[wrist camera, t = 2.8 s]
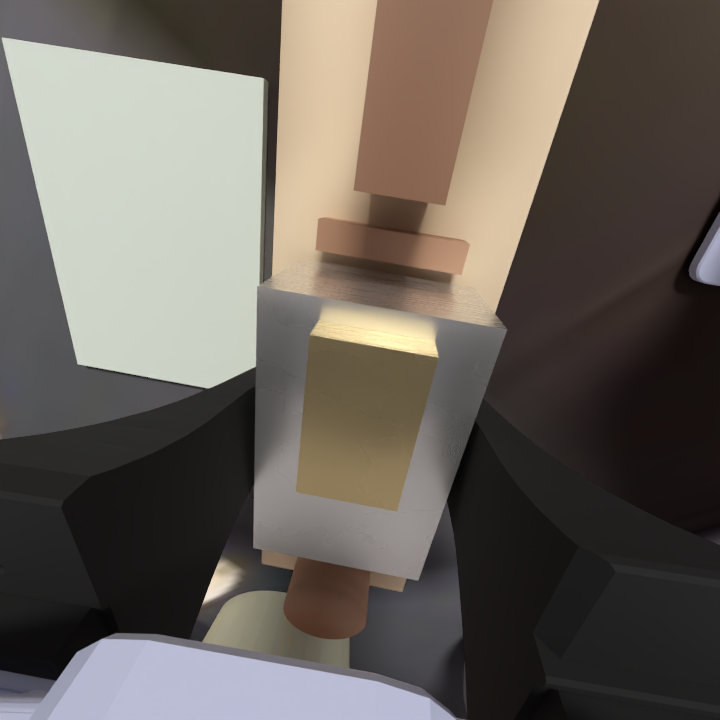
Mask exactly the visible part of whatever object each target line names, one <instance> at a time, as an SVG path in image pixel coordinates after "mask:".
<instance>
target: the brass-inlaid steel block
mask: <svg viewBox="0 0 720 720" xmlns="http://www.w3.org/2000/svg"><path fill="white" fill-rule="evenodd" d="M506 331H507V328H506V327H505V326H504V325H503V323H502V322H501V321H500V320H499V318H498V317H497V316H496V315H495V314H494V312H493V311H492V310H491V309H490V307H489V306H488V305H487V304H486V302H485V301H484V300H483V299H482V297H481V296H480V295H479V294H478V292H477V291H476V290H475V289H474V287H469V286H464V285H458V284H452V283H446V282H440V281H434V280H428V279H422V278H416V277H410V276H404V275H399V274H393V273H387V272H381V271H375V270H369V269H363V268H357V267H351V266H345V265H339V264H334V263H328V262H322V261H316V260H310V259H304V258H301V259H300V260H298V261H297V262H295V263H293V264H292V265H290V266H289V267H287V268H285V269H284V270H282V271H281V272H279V273H277V274H276V275H274V276H273V277H271V278H269V279H268V280H266V281H265V282H263V283H261V284H260V285H258V286H257V327H256V394H255V461H254V529H253V548H256V549H261V550H266V551H271V552H276V553H281V554H286V555H291V556H296V557H301V558H306V559H311V560H316V561H321V562H327V563H332V564H337V565H342V566H347V567H352V568H357V569H362V570H367V571H372V572H377V573H382V574H387V575H392V576H397V577H402V578H407V579H412V580H417V581H418V580H419V577H420V574H421V571H422V569H423V566H424V563H425V560H426V557H427V554H428V552H429V549H430V546H431V543H432V540H433V537H434V535H435V532H436V529H437V526H438V523H439V520H440V518H441V515H442V512H443V509H444V506H445V504H446V501H447V498H448V495H449V492H450V489H451V487H452V484H453V481H454V478H455V475H456V472H457V470H458V467H459V464H460V461H461V458H462V456H463V453H464V450H465V447H466V444H467V441H468V439H469V436H470V433H471V430H472V427H473V424H474V422H475V419H476V416H477V413H478V410H479V407H480V405H481V402H482V399H483V396H484V393H485V391H486V388H487V385H488V382H489V379H490V376H491V374H492V371H493V368H494V365H495V362H496V359H497V357H498V354H499V351H500V348H501V345H502V343H503V340H504V337H505V334H506Z"/></svg>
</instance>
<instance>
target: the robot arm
mask: <svg viewBox="0 0 720 720" xmlns="http://www.w3.org/2000/svg"><path fill="white" fill-rule="evenodd" d="M689 275H690V277H691V278H692V279H693V280H695V281H698V282H701V283H705V284H710V285H716V286H720V212H719V214H718V215H717V217H716V219H715V221H714V223H713V224H712V226H711V228H710V230H709V232H708V233H707V235H706V237H705V239H704V241H703V242H702V244H701V246H700V248H699V250H698V251H697V253H696V255H695V257H694V259H693V261H692V262H691V265H690V267H689ZM255 394H256V367H254V368H252V369H250V370H248V371H245V372H243V373H241V374H239V375H237V376H235V377H233V378H231V379H229V380H227V381H225V382H223V383H220V384H218V385H216V386H214V387H211V388H209V389H207V390H204V391H202V392H200V393H197V394H195V395H193V396H190V397H188V398H185V399H182V400H180V401H177V402H174V403H171V404H168V405H165V406H162V407H159V408H156V409H153V410H150V411H147V412H143V413H139V414H135V415H131V416H128V417H124V418H120V419H116V420H112V421H108V422H104V423H99V424H95V425H90V426H85V427H80V428H75V429H69V430H64V431H58V432H52V433H46V434H40V435H32V436H25V437H17V438H10V439H2V440H0V720H465V719H460V718H456V717H455V715H454V714H453V713H452V712H451V711H450V710H449V709H448V708H447V707H445V706H444V705H443V704H441V703H440V702H439V701H438V700H436V699H435V698H434V697H433V696H431V695H430V694H429V693H428V692H426V691H425V690H424V689H423V688H420V687H417V686H414V685H411V684H408V683H405V682H402V681H399V680H396V679H392V678H389V677H386V676H383V675H380V674H377V673H372V672H366V671H361V670H355V669H349V668H344V667H338V666H333V665H327V664H321V663H316V662H310V661H305V660H299V659H293V658H288V657H282V656H277V655H271V654H265V653H260V652H254V651H249V650H243V649H237V648H232V647H226V646H221V645H215V644H209V643H204V642H198V641H193V640H189V639H190V636H191V633H192V630H193V627H194V625H195V622H196V619H197V617H198V614H199V611H200V608H201V606H202V603H203V600H204V598H205V595H206V592H207V590H208V587H209V584H210V582H211V579H212V577H213V574H214V572H215V569H216V567H217V564H218V562H219V559H220V557H221V554H222V552H223V549H224V546H225V544H226V542H227V539H228V537H229V535H230V532H231V530H232V527H233V525H234V523H235V520H236V518H237V516H238V513H239V511H240V509H241V507H242V505H243V503H244V501H245V499H246V498H247V496H248V494H249V492H250V490H251V489H252V487H253V485H254V461H255ZM447 502H448V507H449V512H450V517H451V522H452V527H453V532H454V539H455V545H456V554H457V565H458V576H459V587H460V600H461V613H462V627H463V644H464V660H465V678H466V700H467V720H720V545H718V544H715V543H713V542H711V541H709V540H706V539H704V538H702V537H699V536H697V535H695V534H693V533H690V532H688V531H686V530H683V529H681V528H679V527H677V526H674V525H672V524H670V523H668V522H666V521H664V520H662V519H660V518H658V517H656V516H654V515H652V514H650V513H648V512H646V511H644V510H642V509H640V508H638V507H636V506H634V505H632V504H630V503H628V502H626V501H624V500H622V499H621V498H619V497H617V496H615V495H613V494H611V493H610V492H608V491H606V490H604V489H603V488H601V487H599V486H598V485H596V484H594V483H592V482H591V481H589V480H587V479H586V478H584V477H582V476H581V475H579V474H577V473H576V472H574V471H573V470H571V469H570V468H568V467H567V466H565V465H564V464H562V463H561V462H559V461H558V460H556V459H555V458H554V457H552V456H551V455H549V454H548V453H546V452H545V451H544V450H542V449H541V448H540V447H538V446H537V445H536V444H534V443H533V442H532V441H531V440H529V439H528V438H527V437H526V436H524V435H523V434H522V433H521V432H520V431H518V430H517V429H516V428H515V427H514V426H513V425H511V424H510V423H509V422H508V421H507V420H506V419H505V418H504V417H502V416H501V415H500V414H499V413H498V412H497V411H496V410H495V409H494V408H493V407H492V406H491V405H490V404H488V403H487V402H486V401H485V400H484V399H482V402H481V405H480V407H479V410H478V413H477V416H476V419H475V422H474V424H473V427H472V430H471V433H470V436H469V439H468V441H467V444H466V447H465V450H464V453H463V456H462V458H461V461H460V464H459V467H458V470H457V472H456V475H455V478H454V481H453V484H452V487H451V489H450V492H449V495H448V498H447Z"/></svg>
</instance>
